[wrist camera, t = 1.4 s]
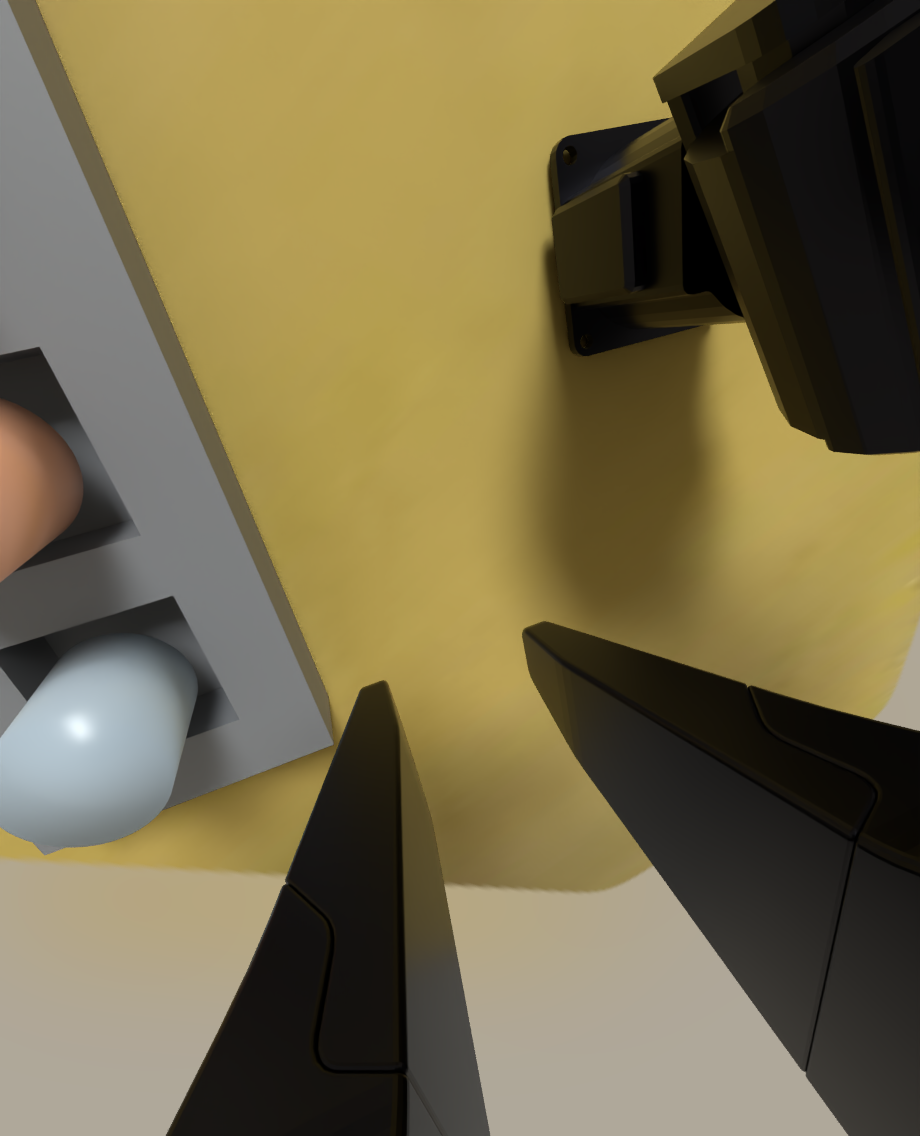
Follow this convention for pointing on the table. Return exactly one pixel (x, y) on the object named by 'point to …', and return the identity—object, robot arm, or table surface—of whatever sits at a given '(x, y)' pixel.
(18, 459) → the peach rounded piece
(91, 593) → the grey socket tray
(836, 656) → the table surface
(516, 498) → the table surface
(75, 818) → the slate button
